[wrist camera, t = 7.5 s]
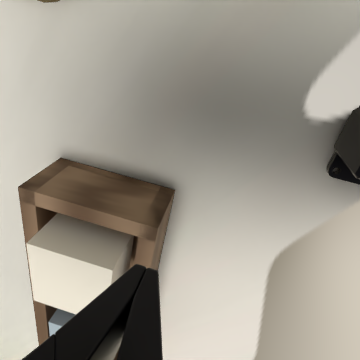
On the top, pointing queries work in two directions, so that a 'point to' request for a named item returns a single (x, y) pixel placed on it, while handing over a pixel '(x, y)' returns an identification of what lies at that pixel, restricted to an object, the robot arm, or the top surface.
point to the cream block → (75, 261)
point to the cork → (48, 0)
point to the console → (96, 212)
